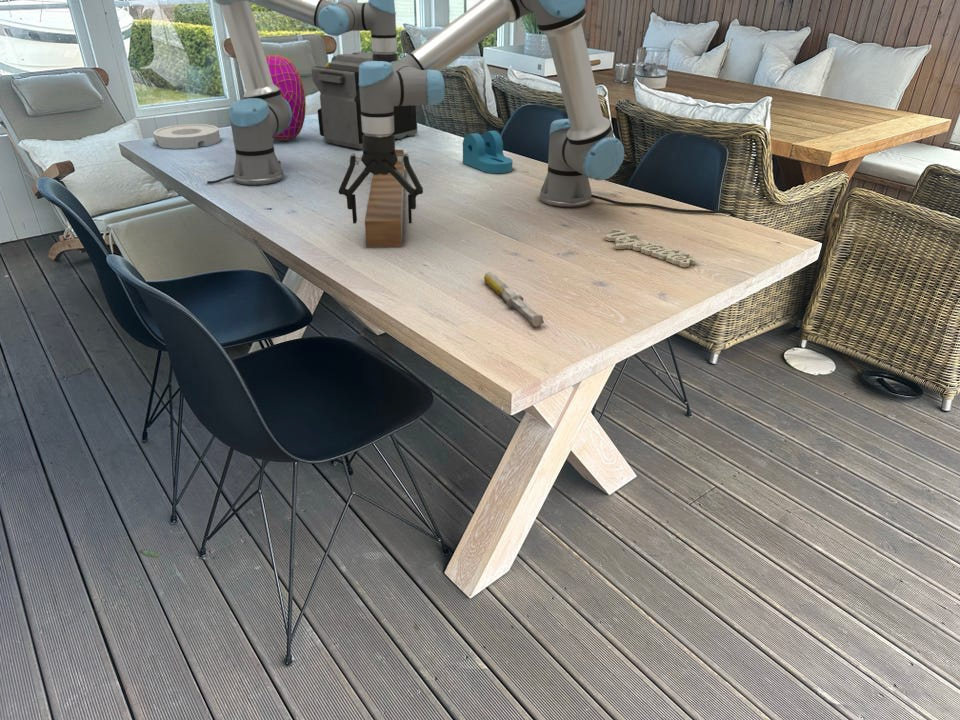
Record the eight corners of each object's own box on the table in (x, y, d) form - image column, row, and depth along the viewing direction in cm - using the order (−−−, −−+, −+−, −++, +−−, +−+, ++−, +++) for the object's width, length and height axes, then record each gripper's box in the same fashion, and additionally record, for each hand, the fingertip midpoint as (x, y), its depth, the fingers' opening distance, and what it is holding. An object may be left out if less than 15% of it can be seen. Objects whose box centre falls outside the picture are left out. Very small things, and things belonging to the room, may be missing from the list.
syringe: (480, 279, 152) (480, 268, 151) (495, 277, 153) (495, 266, 152) (526, 330, 132) (527, 317, 131) (544, 326, 134) (545, 314, 132)
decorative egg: (293, 132, 276) (283, 50, 261) (319, 140, 264) (310, 56, 249) (249, 139, 265) (236, 54, 250) (273, 148, 253) (261, 60, 238)
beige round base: (171, 134, 271) (168, 123, 269) (229, 135, 270) (227, 124, 268) (144, 148, 251) (141, 136, 249) (207, 149, 251) (205, 138, 249)
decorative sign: (591, 236, 174) (616, 227, 180) (591, 240, 174) (616, 231, 180) (679, 267, 157) (703, 256, 163) (678, 271, 158) (703, 260, 163)
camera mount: (462, 163, 238) (462, 131, 233) (487, 158, 243) (487, 128, 238) (493, 175, 225) (494, 142, 220) (518, 170, 230) (519, 138, 225)
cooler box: (381, 126, 286) (376, 48, 271) (421, 134, 275) (419, 52, 260) (314, 143, 261) (305, 57, 245) (356, 151, 250) (349, 62, 234)
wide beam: (401, 246, 170) (400, 220, 166) (366, 247, 169) (364, 221, 166) (404, 169, 230) (403, 149, 227) (378, 170, 230) (377, 149, 226)
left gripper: (425, 51, 212) (427, 122, 223) (344, 51, 210) (350, 123, 221) (426, 54, 205) (428, 127, 216) (341, 54, 203) (348, 128, 214)
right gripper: (431, 130, 164) (432, 216, 175) (325, 129, 162) (333, 216, 173) (432, 137, 158) (433, 226, 168) (322, 137, 156) (330, 226, 166)
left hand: (388, 125), depth 218 cm, fingers open, 13 cm apart
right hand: (382, 221), depth 171 cm, fingers open, 13 cm apart
